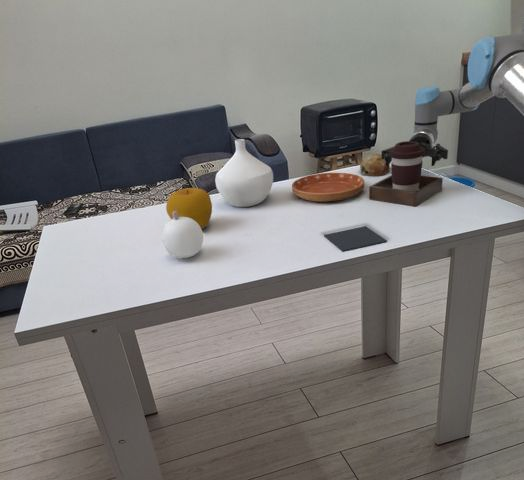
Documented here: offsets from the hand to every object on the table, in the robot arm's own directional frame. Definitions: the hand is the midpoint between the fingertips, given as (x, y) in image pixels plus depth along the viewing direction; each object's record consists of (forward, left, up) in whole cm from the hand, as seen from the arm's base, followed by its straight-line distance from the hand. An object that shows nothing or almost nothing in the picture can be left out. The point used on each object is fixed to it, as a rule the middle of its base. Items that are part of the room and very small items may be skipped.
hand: (409, 161), depth 162 cm
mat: (-8, +41, -9) cm, 42 cm away
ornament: (+24, +71, -9) cm, 75 cm away
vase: (+40, +31, -9) cm, 52 cm away
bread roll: (+20, -13, -9) cm, 26 cm away
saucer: (+21, +13, -9) cm, 26 cm away
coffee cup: (-2, +5, -9) cm, 10 cm away
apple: (+38, +56, -9) cm, 68 cm away
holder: (-2, +5, -9) cm, 10 cm away
